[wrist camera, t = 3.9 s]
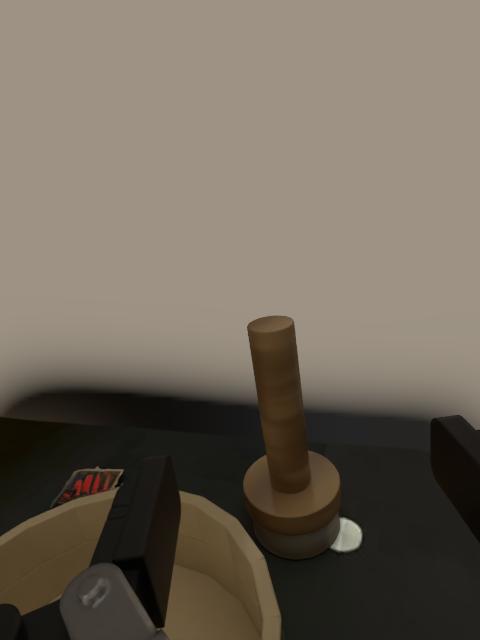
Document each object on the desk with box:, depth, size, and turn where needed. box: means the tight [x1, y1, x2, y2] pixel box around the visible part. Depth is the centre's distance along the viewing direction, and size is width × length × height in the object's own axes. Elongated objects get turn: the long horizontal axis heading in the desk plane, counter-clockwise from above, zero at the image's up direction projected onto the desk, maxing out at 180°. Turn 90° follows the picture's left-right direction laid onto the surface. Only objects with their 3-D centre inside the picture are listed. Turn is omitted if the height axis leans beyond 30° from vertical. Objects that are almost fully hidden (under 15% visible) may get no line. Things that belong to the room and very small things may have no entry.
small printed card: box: [50, 467, 124, 510], centre depth 27 cm, size 5×5×1 cm
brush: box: [243, 316, 341, 559], centre depth 21 cm, size 5×5×12 cm
